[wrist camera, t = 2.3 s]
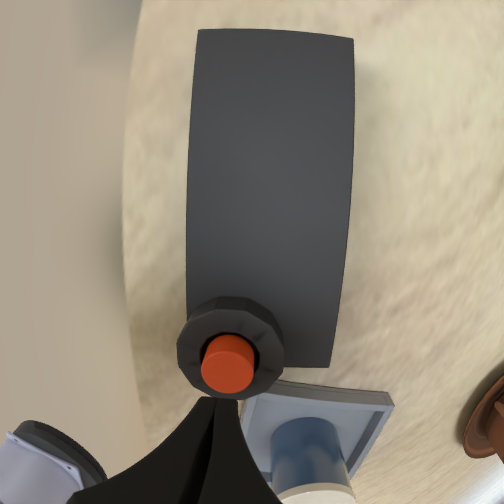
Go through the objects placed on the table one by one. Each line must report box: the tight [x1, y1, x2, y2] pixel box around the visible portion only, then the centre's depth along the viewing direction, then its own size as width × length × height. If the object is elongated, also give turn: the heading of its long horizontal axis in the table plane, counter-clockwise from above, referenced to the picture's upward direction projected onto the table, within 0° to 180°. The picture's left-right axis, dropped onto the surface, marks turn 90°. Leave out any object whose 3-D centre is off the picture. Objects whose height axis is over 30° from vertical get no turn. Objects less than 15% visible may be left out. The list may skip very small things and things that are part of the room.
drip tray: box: [240, 380, 395, 486], centre depth 21 cm, size 10×10×2 cm
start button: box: [201, 335, 254, 393], centre depth 15 cm, size 2×2×2 cm
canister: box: [270, 417, 357, 504], centre depth 18 cm, size 5×5×7 cm
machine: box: [177, 29, 355, 400], centre depth 16 cm, size 19×8×4 cm, turn 177°
